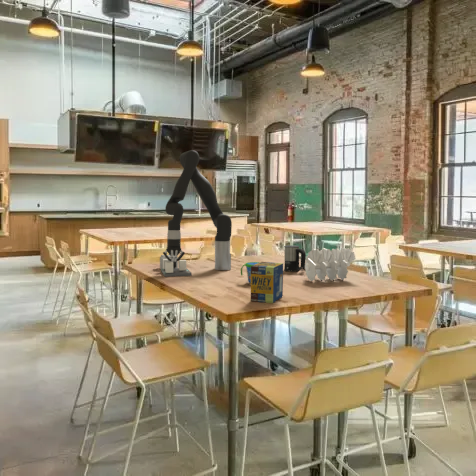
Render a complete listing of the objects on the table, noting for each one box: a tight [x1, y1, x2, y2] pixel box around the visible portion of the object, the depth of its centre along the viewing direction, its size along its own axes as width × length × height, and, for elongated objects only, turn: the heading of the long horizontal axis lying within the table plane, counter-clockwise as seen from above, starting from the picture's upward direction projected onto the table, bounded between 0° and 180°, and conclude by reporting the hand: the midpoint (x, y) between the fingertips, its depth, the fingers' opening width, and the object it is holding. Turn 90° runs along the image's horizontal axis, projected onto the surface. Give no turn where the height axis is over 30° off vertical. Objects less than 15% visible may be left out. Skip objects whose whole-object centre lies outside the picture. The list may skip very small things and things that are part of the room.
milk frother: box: [283, 244, 307, 272], centre depth 316 cm, size 14×16×15 cm
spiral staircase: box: [304, 247, 356, 282], centre depth 280 cm, size 18×18×25 cm
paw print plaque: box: [159, 254, 179, 270], centre depth 321 cm, size 10×13×9 cm
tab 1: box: [163, 259, 171, 269], centre depth 307 cm, size 4×4×6 cm
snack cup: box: [240, 261, 260, 284], centre depth 273 cm, size 16×10×10 cm
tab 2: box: [165, 262, 173, 273], centre depth 294 cm, size 4×4×6 cm
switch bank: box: [160, 267, 192, 278], centre depth 302 cm, size 15×19×2 cm
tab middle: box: [178, 259, 187, 271], centre depth 302 cm, size 4×4×6 cm
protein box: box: [250, 261, 284, 304], centre depth 233 cm, size 10×15×16 cm
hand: (173, 268), depth 301 cm, fingers closed
